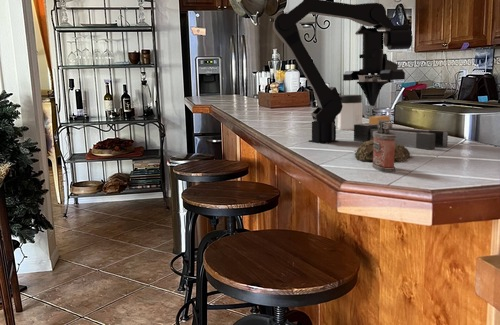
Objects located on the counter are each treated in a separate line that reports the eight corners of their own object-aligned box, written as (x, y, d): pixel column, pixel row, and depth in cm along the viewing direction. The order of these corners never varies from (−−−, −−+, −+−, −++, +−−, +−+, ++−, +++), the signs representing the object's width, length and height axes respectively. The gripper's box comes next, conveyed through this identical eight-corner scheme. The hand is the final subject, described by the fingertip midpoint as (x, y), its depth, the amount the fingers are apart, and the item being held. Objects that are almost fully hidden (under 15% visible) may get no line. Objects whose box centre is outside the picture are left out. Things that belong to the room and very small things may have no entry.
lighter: (369, 165, 104) (369, 119, 102) (384, 164, 105) (385, 118, 103) (382, 172, 96) (383, 122, 95) (398, 172, 97) (399, 122, 95)
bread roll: (361, 154, 121) (362, 134, 121) (412, 156, 116) (413, 135, 115) (347, 162, 110) (347, 140, 109) (402, 165, 105) (403, 143, 104)
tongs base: (426, 151, 120) (427, 131, 119) (353, 141, 141) (354, 124, 140) (449, 147, 125) (450, 128, 124) (375, 138, 146) (375, 122, 145)
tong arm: (442, 147, 123) (443, 131, 122) (381, 141, 138) (381, 126, 137) (447, 146, 125) (447, 130, 124) (385, 140, 139) (386, 125, 139)
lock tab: (377, 124, 135) (377, 117, 135) (369, 123, 138) (369, 116, 137) (389, 123, 138) (389, 116, 138) (381, 122, 140) (381, 115, 140)
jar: (348, 130, 168) (349, 96, 165) (332, 129, 174) (332, 95, 172) (367, 128, 172) (367, 94, 170) (350, 127, 179) (350, 94, 177)
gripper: (418, 48, 133) (417, 105, 136) (368, 52, 149) (368, 103, 151) (391, 48, 127) (390, 107, 130) (341, 52, 143) (341, 105, 146)
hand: (372, 105), depth 139 cm, fingers closed
